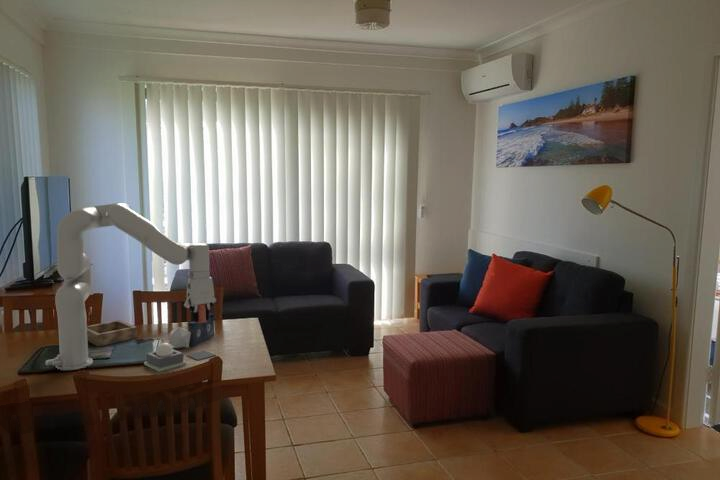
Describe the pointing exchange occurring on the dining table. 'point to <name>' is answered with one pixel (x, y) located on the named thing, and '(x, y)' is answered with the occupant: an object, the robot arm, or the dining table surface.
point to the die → (179, 337)
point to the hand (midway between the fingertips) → (200, 319)
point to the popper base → (164, 361)
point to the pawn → (201, 313)
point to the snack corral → (110, 332)
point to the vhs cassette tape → (201, 330)
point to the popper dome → (164, 350)
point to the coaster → (201, 355)
